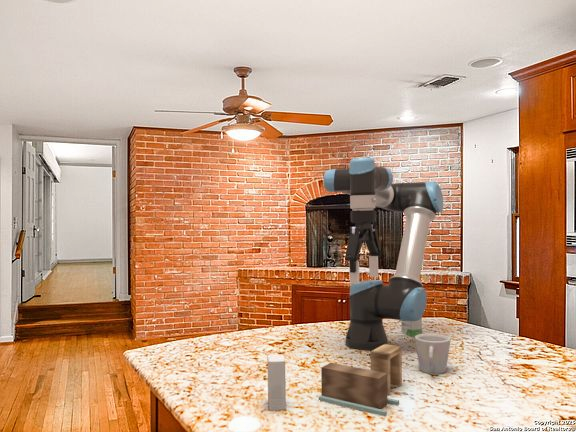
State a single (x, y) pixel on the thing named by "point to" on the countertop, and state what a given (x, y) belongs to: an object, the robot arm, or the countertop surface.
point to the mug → (432, 352)
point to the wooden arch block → (388, 363)
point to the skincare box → (276, 382)
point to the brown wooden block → (354, 385)
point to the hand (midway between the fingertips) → (364, 280)
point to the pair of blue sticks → (358, 406)
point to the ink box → (412, 327)
